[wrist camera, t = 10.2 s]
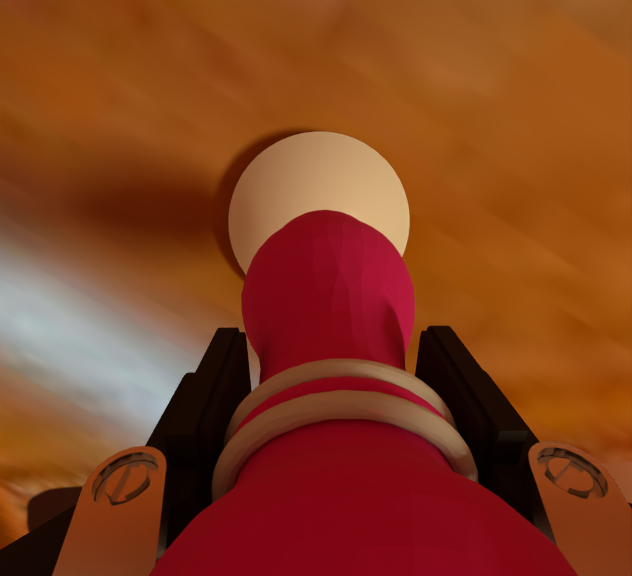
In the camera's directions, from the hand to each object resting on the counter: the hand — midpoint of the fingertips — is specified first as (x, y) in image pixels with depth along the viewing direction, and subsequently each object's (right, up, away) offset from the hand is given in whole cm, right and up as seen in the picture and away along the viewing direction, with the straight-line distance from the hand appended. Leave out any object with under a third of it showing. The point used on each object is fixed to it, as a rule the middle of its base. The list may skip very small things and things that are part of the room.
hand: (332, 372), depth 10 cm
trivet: (0, +7, +18) cm, 19 cm away
